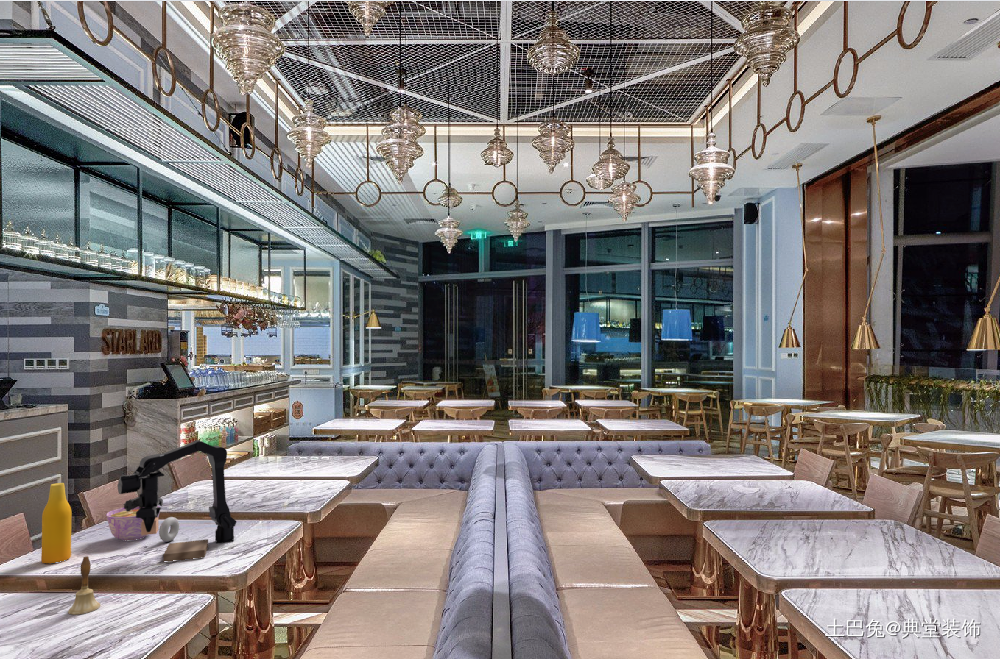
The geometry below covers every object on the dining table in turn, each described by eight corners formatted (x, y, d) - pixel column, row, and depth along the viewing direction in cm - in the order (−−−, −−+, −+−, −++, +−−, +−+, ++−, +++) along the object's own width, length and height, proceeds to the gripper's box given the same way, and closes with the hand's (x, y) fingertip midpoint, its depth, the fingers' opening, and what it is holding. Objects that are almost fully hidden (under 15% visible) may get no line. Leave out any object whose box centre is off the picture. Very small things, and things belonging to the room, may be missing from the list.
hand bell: (78, 604, 189) (79, 553, 189) (106, 602, 189) (106, 552, 190) (61, 615, 180) (62, 562, 181) (90, 614, 181) (91, 561, 182)
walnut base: (208, 546, 243) (208, 539, 243) (204, 557, 230) (204, 549, 230) (169, 551, 238) (169, 543, 238) (163, 562, 225) (163, 554, 225)
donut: (164, 545, 245) (164, 520, 246) (156, 545, 246) (157, 520, 246) (181, 537, 255) (181, 514, 256) (173, 537, 256) (174, 513, 256)
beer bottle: (36, 565, 223) (37, 487, 224) (47, 557, 232) (49, 482, 233) (64, 563, 226) (66, 485, 227) (75, 555, 235) (76, 480, 236)
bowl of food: (96, 547, 244) (97, 518, 244) (117, 532, 263) (117, 506, 264) (150, 543, 248) (151, 515, 248) (167, 529, 267) (167, 503, 268)
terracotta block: (158, 530, 234) (158, 517, 234) (156, 533, 229) (156, 520, 230) (143, 531, 232) (143, 518, 232) (141, 535, 228) (141, 522, 228)
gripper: (131, 486, 237) (131, 525, 237) (119, 497, 220) (120, 540, 219) (163, 483, 241) (163, 522, 241) (154, 494, 224) (154, 536, 223)
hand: (150, 529), depth 231 cm, fingers closed on terracotta block, 5 cm apart
